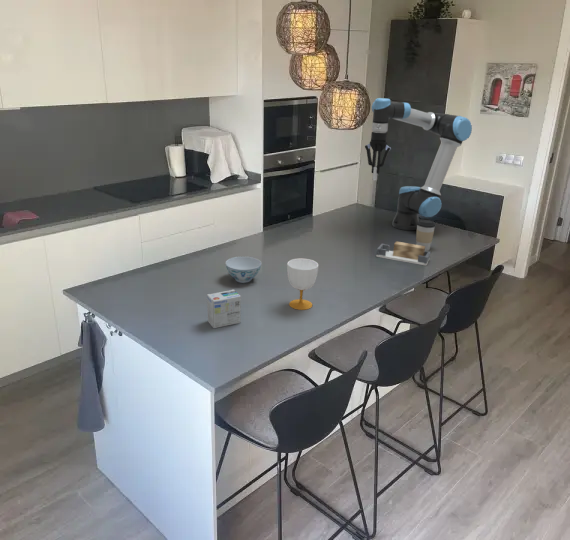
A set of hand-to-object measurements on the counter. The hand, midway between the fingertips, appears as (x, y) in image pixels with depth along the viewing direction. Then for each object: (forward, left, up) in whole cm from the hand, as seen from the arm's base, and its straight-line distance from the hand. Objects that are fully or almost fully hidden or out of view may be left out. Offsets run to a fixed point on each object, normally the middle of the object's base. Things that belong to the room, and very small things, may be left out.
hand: (374, 179), depth 270 cm
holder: (+17, +22, -32) cm, 42 cm away
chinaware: (+77, -33, -33) cm, 90 cm away
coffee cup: (-2, +28, -33) cm, 43 cm away
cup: (+88, -2, -33) cm, 94 cm away
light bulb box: (+114, -21, -33) cm, 120 cm away
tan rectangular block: (+17, +24, -31) cm, 43 cm away
